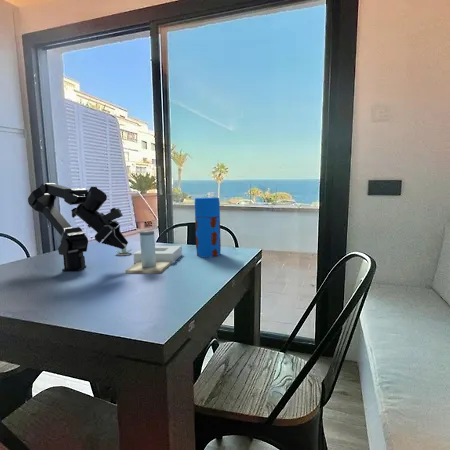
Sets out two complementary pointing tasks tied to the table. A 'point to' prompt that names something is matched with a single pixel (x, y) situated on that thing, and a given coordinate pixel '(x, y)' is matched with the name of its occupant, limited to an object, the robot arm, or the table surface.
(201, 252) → the thermos
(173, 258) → the housing
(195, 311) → the table surface
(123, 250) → the pacifier
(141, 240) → the cylinder
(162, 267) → the pad
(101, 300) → the table surface
